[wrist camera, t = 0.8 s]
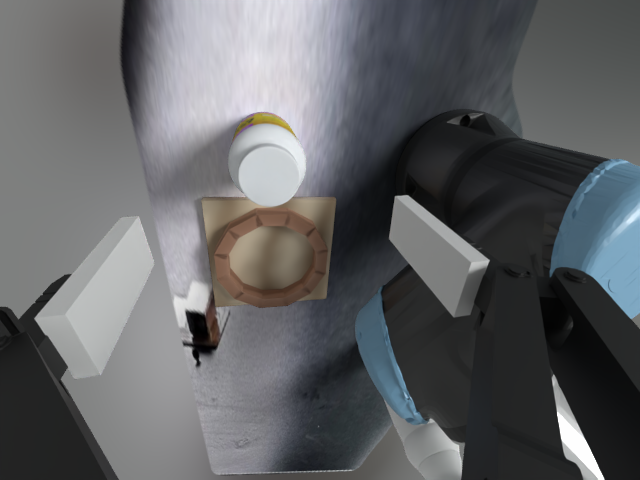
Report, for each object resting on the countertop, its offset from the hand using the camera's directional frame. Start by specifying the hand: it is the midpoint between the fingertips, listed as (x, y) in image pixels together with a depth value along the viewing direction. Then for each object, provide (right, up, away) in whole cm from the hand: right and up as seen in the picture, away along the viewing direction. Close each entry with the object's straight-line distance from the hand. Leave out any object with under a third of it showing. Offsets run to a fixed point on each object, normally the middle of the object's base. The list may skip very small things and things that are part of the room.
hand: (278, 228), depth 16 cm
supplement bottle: (-4, +10, +18) cm, 21 cm away
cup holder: (-4, -2, +24) cm, 25 cm away
